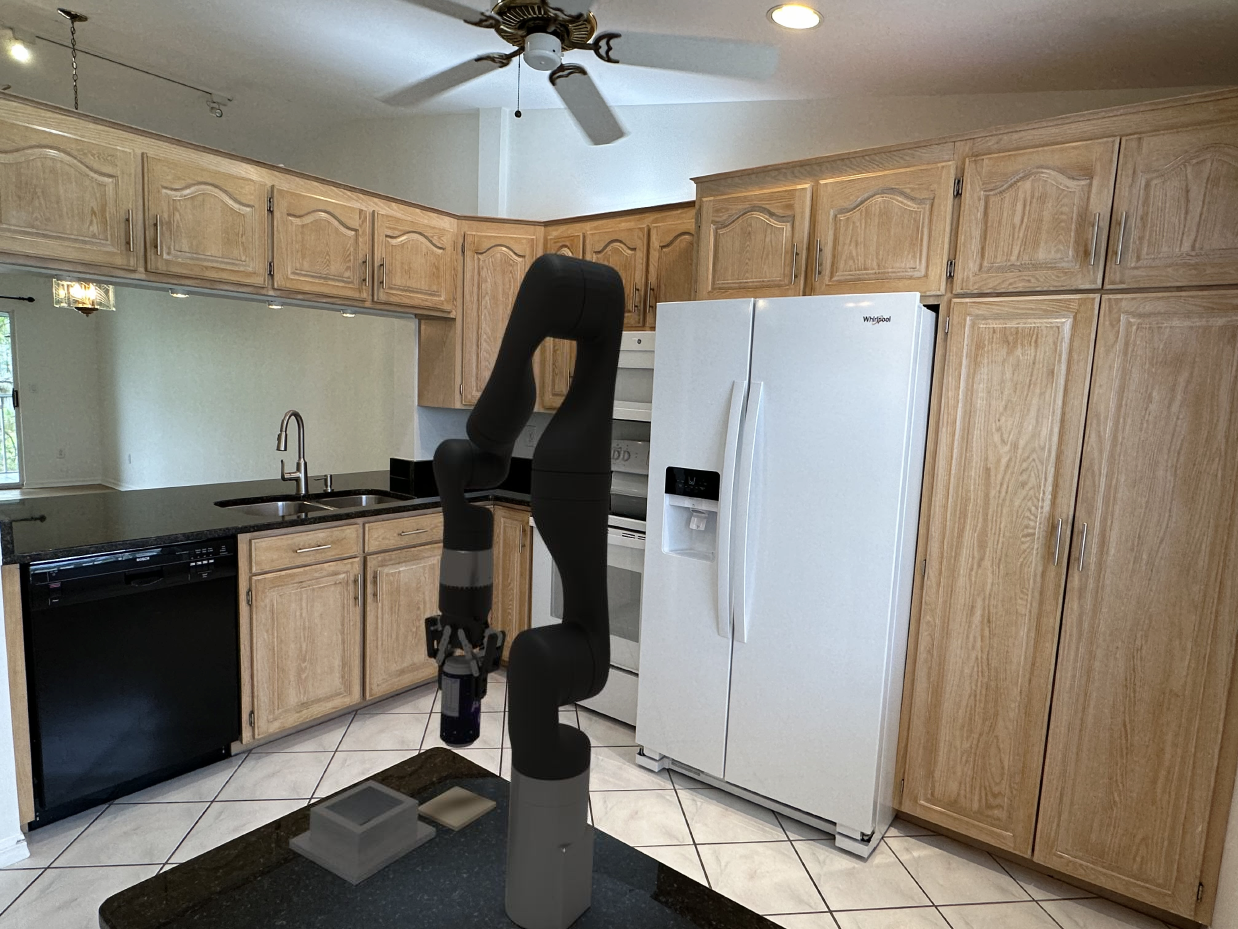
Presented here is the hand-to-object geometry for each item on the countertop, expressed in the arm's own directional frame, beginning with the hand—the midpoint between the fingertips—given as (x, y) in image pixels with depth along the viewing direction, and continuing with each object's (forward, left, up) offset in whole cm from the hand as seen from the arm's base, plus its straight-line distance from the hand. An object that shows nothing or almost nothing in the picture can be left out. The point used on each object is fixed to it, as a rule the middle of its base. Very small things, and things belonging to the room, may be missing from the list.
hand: (461, 694), depth 102 cm
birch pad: (0, 0, -17) cm, 17 cm away
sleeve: (+4, +13, -17) cm, 22 cm away
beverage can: (0, 0, -7) cm, 7 cm away
